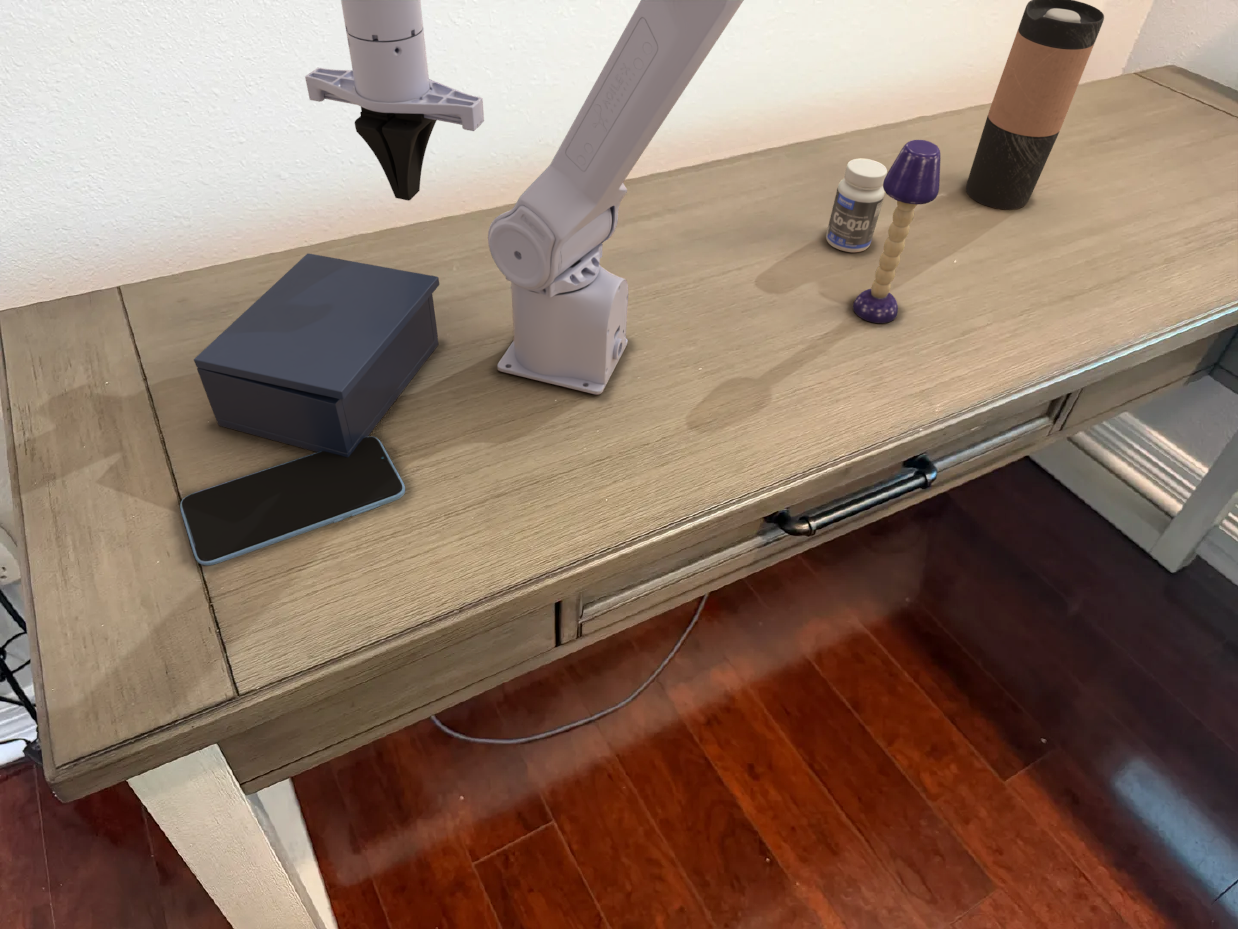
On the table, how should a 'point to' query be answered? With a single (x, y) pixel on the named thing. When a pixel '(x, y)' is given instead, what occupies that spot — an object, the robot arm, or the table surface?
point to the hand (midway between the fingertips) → (407, 194)
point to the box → (320, 416)
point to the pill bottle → (857, 205)
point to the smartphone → (288, 501)
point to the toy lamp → (900, 222)
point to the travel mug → (1032, 100)
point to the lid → (319, 325)
